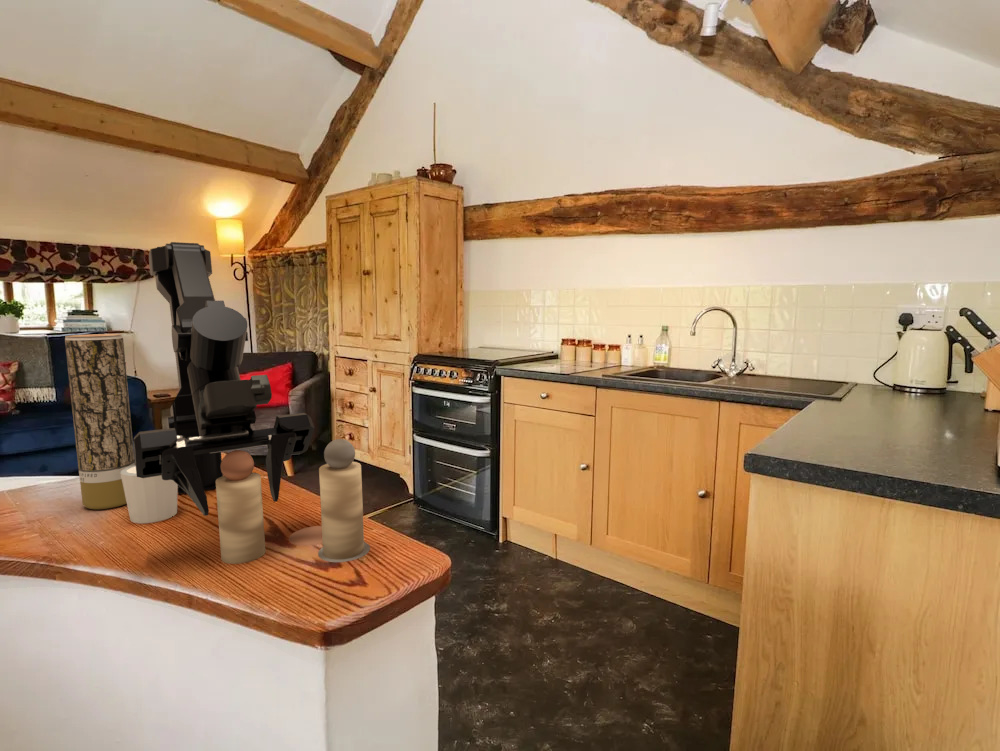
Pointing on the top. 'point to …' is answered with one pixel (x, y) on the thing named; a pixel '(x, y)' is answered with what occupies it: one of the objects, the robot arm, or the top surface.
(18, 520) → the top surface
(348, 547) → the grey ball tube
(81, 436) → the paper tube
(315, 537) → the board
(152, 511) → the white tapered cylinder
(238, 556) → the terracotta ball tube
